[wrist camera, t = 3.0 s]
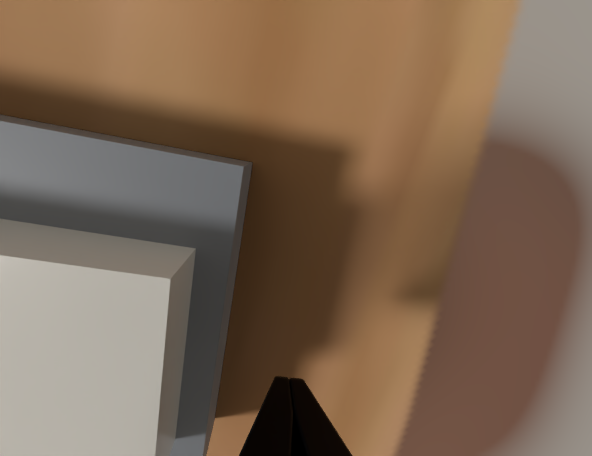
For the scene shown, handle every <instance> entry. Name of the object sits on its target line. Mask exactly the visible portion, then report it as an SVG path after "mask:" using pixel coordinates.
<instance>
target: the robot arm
mask: <svg viewBox="0 0 592 456" xmlns="http://www.w3.org/2000/svg"><path fill="white" fill-rule="evenodd" d="M239 456H352V454H351V453H350V451H349V450H348V448H347V447H346V445H345V443H344V442H343V440H342V439H341V437H340V436H339V434H338V433H337V431H336V429H335V428H334V426H333V425H332V423H331V422H330V420H329V419H328V417H327V416H326V414H325V412H324V411H323V409H322V408H321V406H320V405H319V403H318V402H317V400H316V398H315V397H314V395H313V394H312V392H311V391H310V389H309V388H308V386H307V384H306V383H305V381H304V380H303V379H299V378H290V379H288V378H287V377H280V376H276V377H275V378H274V380H273V382H272V384H271V387H270V389H269V391H268V393H267V395H266V398H265V400H264V402H263V404H262V406H261V408H260V411H259V413H258V415H257V417H256V419H255V422H254V424H253V426H252V428H251V430H250V433H249V435H248V437H247V439H246V441H245V444H244V446H243V448H242V450H241V452H240V454H239Z"/></svg>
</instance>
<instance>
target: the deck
mask: <svg viewBox="0 0 592 456" xmlns="http://www.w3.org/2000/svg"><path fill="white" fill-rule="evenodd" d="M252 164H253V162H248V161H242V160H237V159H232V158H227V157H221V156H216V155H211V154H205V153H200V152H195V151H190V150H184V149H179V148H174V147H169V146H163V145H158V144H153V143H148V142H142V141H137V140H132V139H127V138H121V137H116V136H111V135H105V134H100V133H95V132H90V131H84V130H79V129H74V128H69V127H63V126H58V125H53V124H48V123H42V122H37V121H32V120H27V119H21V118H16V117H11V116H5V115H0V219H6V220H12V221H19V222H25V223H32V224H39V225H45V226H52V227H58V228H65V229H71V230H78V231H84V232H91V233H98V234H104V235H111V236H117V237H124V238H130V239H137V240H144V241H150V242H157V243H163V244H170V245H176V246H183V247H190V248H196V252H195V261H194V270H193V280H192V289H191V298H190V307H189V317H188V326H187V335H186V344H185V354H184V363H183V372H182V381H181V391H180V400H179V409H178V418H177V428H176V437H175V441H174V444H173V447H172V450H171V453H170V455H169V456H206V454H207V450H208V446H209V441H210V437H211V433H212V428H213V424H214V420H215V413H216V406H217V399H218V393H219V386H220V379H221V373H222V366H223V359H224V352H225V346H226V339H227V332H228V325H229V319H230V312H231V305H232V298H233V292H234V285H235V278H236V271H237V265H238V258H239V251H240V244H241V238H242V231H243V224H244V217H245V211H246V204H247V197H248V190H249V184H250V177H251V170H252Z"/></svg>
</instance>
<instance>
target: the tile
mask: <svg viewBox="0 0 592 456" xmlns="http://www.w3.org/2000/svg"><path fill="white" fill-rule="evenodd" d="M195 252H196V248H190V247H183V246H176V245H170V244H163V243H157V242H150V241H144V240H137V239H130V238H124V237H117V236H111V235H104V234H98V233H91V232H84V231H78V230H71V229H65V228H58V227H52V226H45V225H39V224H32V223H25V222H19V221H12V220H6V219H0V456H169V455H170V453H171V450H172V447H173V444H174V441H175V437H176V428H177V418H178V409H179V400H180V391H181V381H182V372H183V363H184V354H185V344H186V335H187V326H188V317H189V307H190V298H191V289H192V280H193V270H194V261H195Z"/></svg>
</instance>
